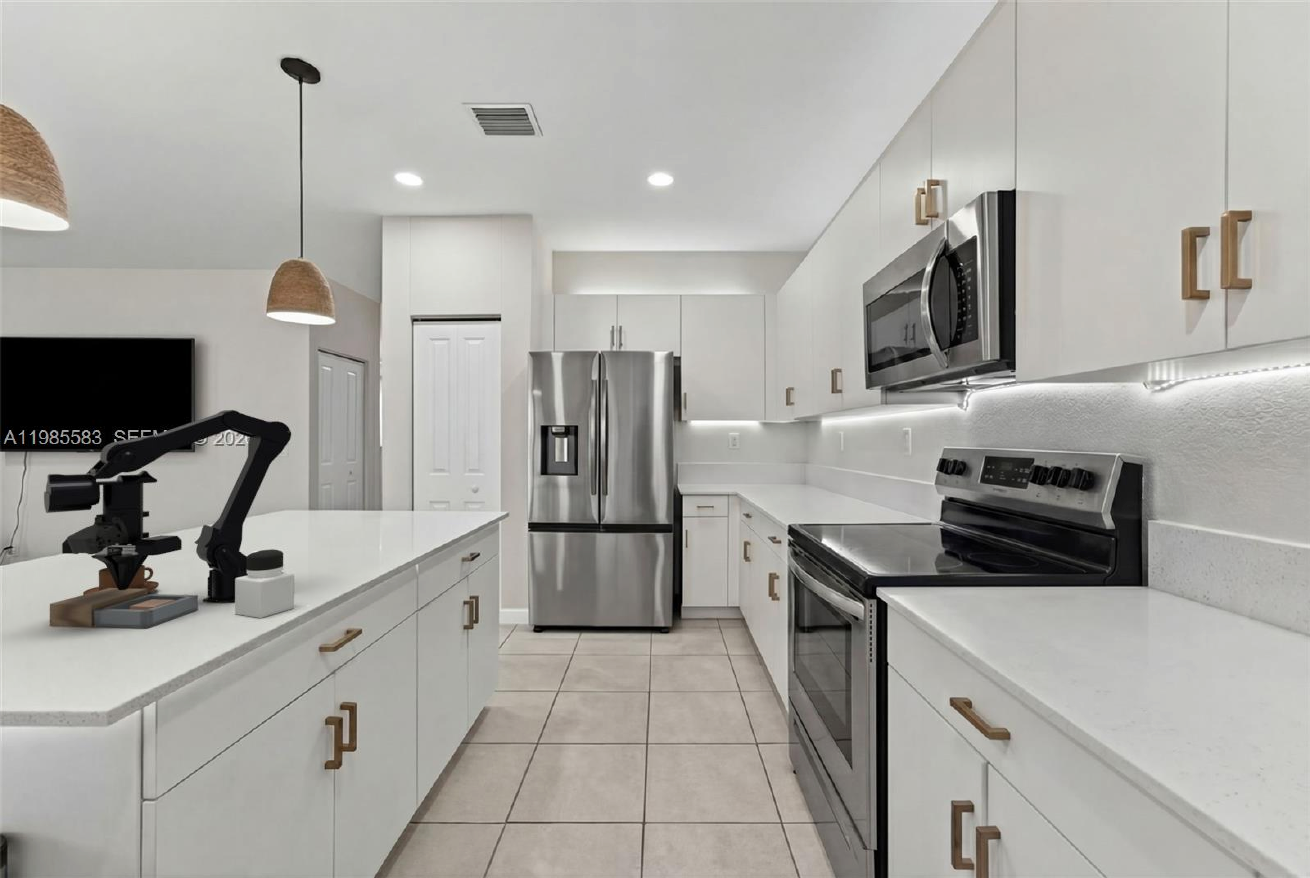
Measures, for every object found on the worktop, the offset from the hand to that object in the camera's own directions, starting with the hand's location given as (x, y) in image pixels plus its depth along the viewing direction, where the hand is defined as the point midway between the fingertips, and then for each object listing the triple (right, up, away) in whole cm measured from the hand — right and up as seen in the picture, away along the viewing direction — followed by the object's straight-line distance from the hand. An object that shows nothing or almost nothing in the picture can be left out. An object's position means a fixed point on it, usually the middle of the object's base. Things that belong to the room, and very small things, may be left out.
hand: (123, 589), depth 111 cm
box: (+5, -5, 0) cm, 7 cm away
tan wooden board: (-4, -5, 0) cm, 7 cm away
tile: (+6, -2, -1) cm, 7 cm away
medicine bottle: (+24, -6, +5) cm, 25 cm away
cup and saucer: (-13, -6, +15) cm, 21 cm away
